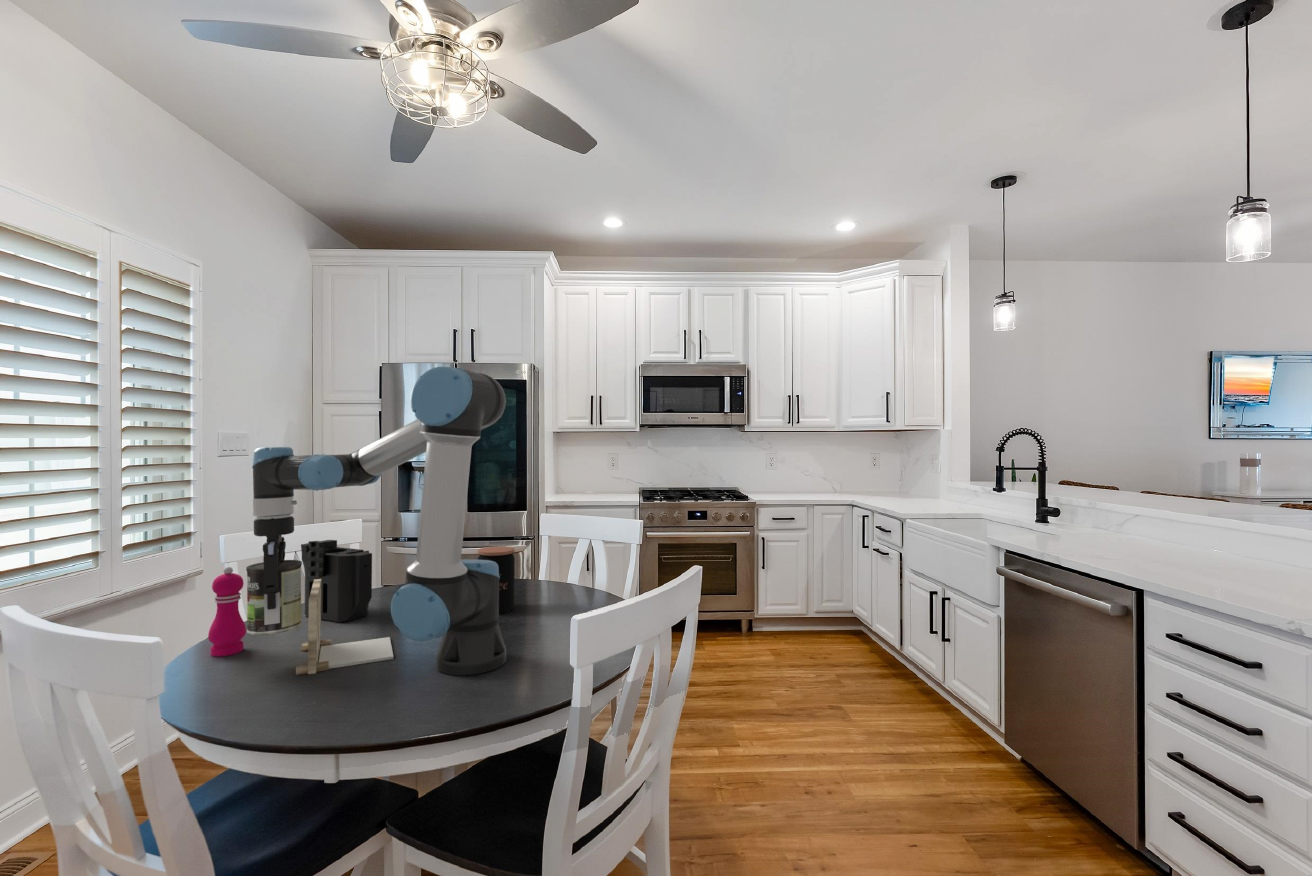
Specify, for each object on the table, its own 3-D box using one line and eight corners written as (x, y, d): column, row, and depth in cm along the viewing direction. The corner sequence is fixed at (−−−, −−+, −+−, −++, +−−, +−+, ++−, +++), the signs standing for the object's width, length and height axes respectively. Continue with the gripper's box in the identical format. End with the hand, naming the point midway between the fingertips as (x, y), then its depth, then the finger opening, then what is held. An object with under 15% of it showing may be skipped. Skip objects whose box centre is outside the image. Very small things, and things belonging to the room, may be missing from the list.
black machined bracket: (329, 607, 175) (329, 534, 175) (379, 615, 167) (380, 538, 167) (291, 618, 164) (291, 540, 164) (343, 627, 156) (343, 545, 156)
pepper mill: (252, 649, 139) (253, 565, 140) (219, 659, 133) (220, 571, 133) (234, 644, 142) (235, 562, 143) (201, 654, 136) (202, 568, 136)
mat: (393, 658, 134) (393, 656, 134) (317, 670, 127) (317, 667, 127) (389, 639, 147) (389, 636, 147) (321, 648, 140) (321, 646, 140)
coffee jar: (470, 614, 169) (470, 551, 169) (487, 604, 180) (487, 545, 180) (505, 616, 167) (505, 553, 167) (519, 605, 178) (520, 546, 178)
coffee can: (253, 638, 122) (253, 570, 122) (241, 629, 129) (240, 564, 129) (308, 626, 129) (308, 563, 130) (294, 618, 136) (293, 557, 137)
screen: (328, 671, 126) (328, 597, 126) (295, 676, 123) (296, 600, 124) (331, 643, 144) (331, 578, 144) (302, 646, 141) (303, 580, 141)
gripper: (289, 520, 121) (290, 628, 121) (298, 511, 141) (299, 603, 141) (245, 523, 118) (246, 634, 117) (260, 513, 138) (261, 607, 137)
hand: (275, 617), depth 129 cm, fingers closed on coffee can, 10 cm apart
